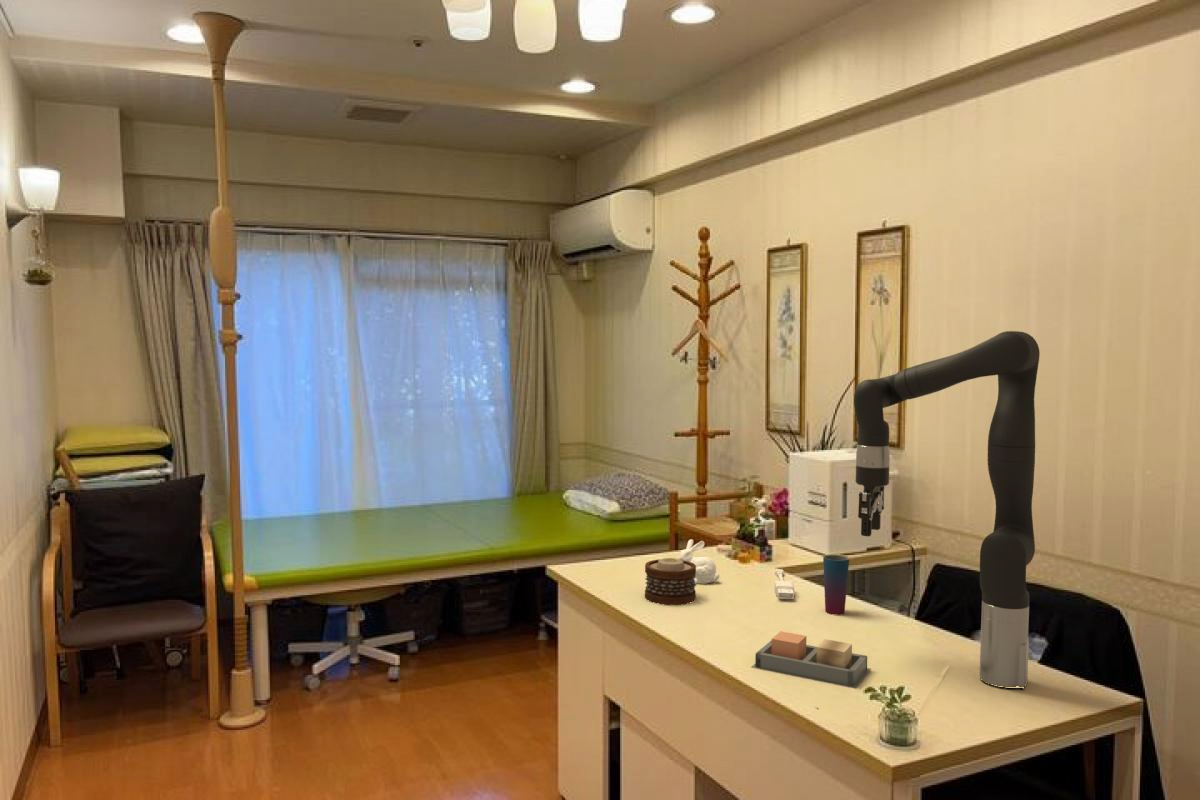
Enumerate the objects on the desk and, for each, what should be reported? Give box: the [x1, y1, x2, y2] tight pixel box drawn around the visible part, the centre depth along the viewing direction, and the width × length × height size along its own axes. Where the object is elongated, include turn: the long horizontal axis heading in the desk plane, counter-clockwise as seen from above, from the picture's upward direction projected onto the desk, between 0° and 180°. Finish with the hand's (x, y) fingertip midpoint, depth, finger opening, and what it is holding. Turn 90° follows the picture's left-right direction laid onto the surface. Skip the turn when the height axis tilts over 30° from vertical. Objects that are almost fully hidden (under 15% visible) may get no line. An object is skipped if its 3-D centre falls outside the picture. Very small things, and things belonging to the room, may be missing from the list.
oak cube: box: [816, 638, 853, 669], centre depth 195 cm, size 6×6×6 cm
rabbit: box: [678, 539, 721, 585], centre depth 273 cm, size 12×9×12 cm
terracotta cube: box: [771, 631, 807, 660], centre depth 201 cm, size 6×6×6 cm
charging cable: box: [774, 568, 795, 600], centre depth 267 cm, size 5×32×3 cm, turn 172°
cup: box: [822, 554, 850, 616], centre depth 242 cm, size 7×7×15 cm
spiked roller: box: [644, 557, 697, 606], centre depth 255 cm, size 15×11×15 cm
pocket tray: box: [751, 639, 872, 689], centre depth 198 cm, size 23×13×4 cm, turn 59°
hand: (870, 532), depth 211 cm, fingers open, 8 cm apart
